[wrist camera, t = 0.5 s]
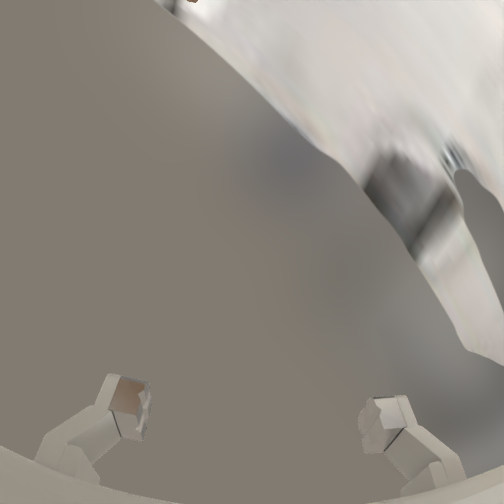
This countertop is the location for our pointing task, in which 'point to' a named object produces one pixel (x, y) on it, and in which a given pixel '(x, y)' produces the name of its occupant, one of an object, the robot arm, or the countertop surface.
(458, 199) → the countertop surface
